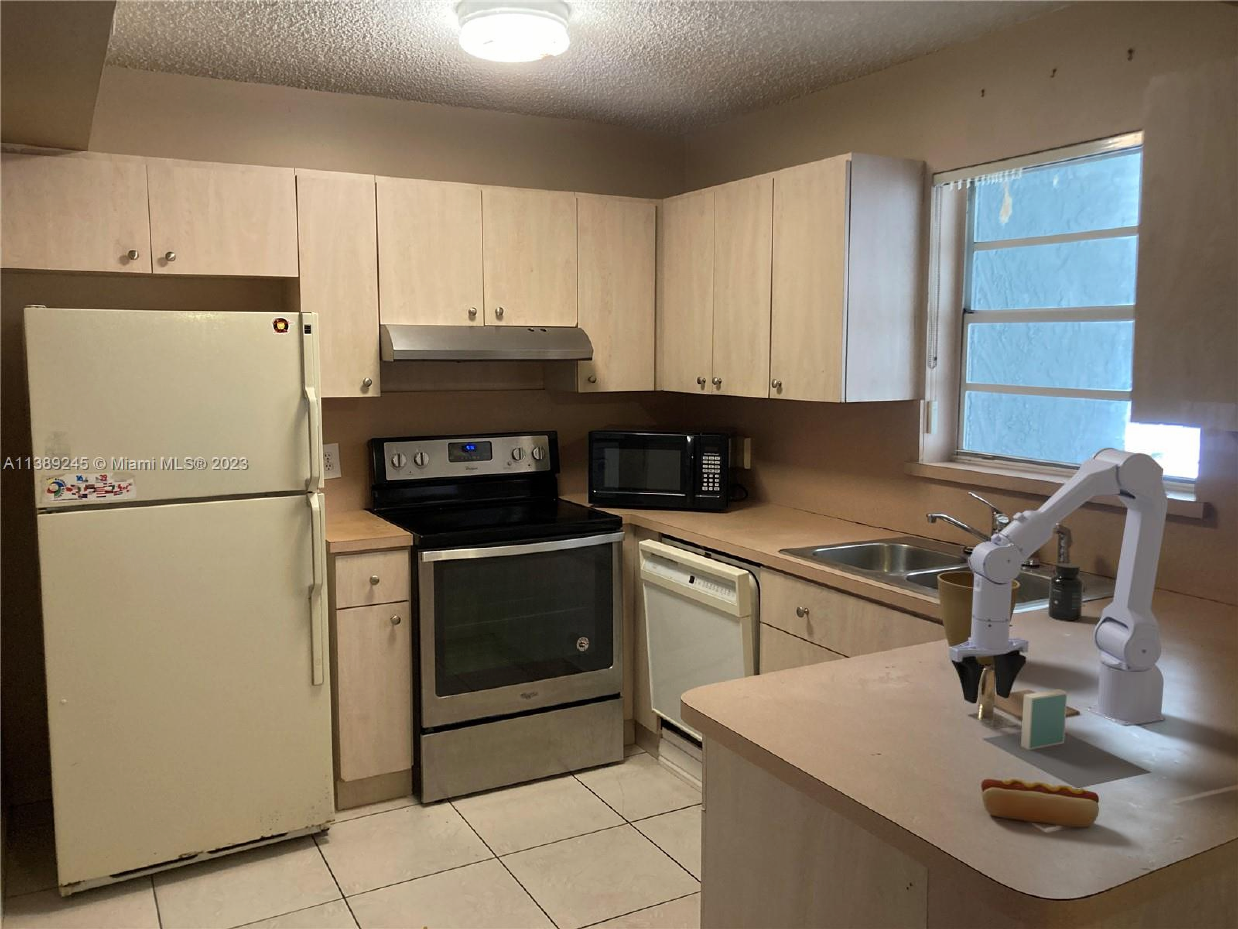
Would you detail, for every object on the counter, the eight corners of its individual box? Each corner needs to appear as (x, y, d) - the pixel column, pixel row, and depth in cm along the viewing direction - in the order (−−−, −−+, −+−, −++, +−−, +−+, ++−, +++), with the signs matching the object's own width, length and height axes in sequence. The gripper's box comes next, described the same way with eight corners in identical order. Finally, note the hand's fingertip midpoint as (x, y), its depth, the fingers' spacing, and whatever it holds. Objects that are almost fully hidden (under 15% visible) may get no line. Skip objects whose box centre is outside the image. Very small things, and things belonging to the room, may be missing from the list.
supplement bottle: (1041, 614, 222) (1044, 563, 220) (1065, 612, 224) (1068, 561, 222) (1063, 622, 215) (1066, 569, 214) (1088, 620, 217) (1091, 567, 216)
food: (1092, 817, 125) (1094, 780, 125) (1101, 838, 120) (1103, 799, 119) (977, 803, 129) (979, 767, 128) (981, 822, 124) (983, 785, 123)
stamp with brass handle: (966, 718, 159) (969, 667, 158) (990, 714, 160) (993, 663, 159) (993, 731, 153) (996, 679, 152) (1018, 727, 155) (1020, 675, 154)
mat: (1051, 728, 154) (1051, 726, 154) (1151, 774, 138) (1151, 772, 138) (982, 741, 149) (982, 738, 149) (1076, 790, 132) (1076, 787, 132)
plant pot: (989, 678, 178) (993, 592, 176) (918, 657, 189) (922, 577, 188) (1030, 662, 188) (1034, 581, 186) (960, 643, 199) (964, 567, 197)
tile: (1056, 739, 149) (1059, 689, 148) (1064, 743, 147) (1067, 692, 147) (1020, 746, 146) (1023, 694, 145) (1028, 750, 145) (1031, 698, 144)
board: (1028, 694, 170) (1028, 689, 170) (1079, 716, 160) (1079, 711, 160) (978, 702, 166) (979, 697, 166) (1027, 725, 156) (1027, 720, 155)
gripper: (1007, 607, 162) (1003, 685, 164) (937, 615, 157) (933, 696, 159) (1040, 617, 156) (1035, 699, 158) (968, 626, 151) (964, 711, 152)
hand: (986, 698), depth 158 cm, fingers open, 6 cm apart
